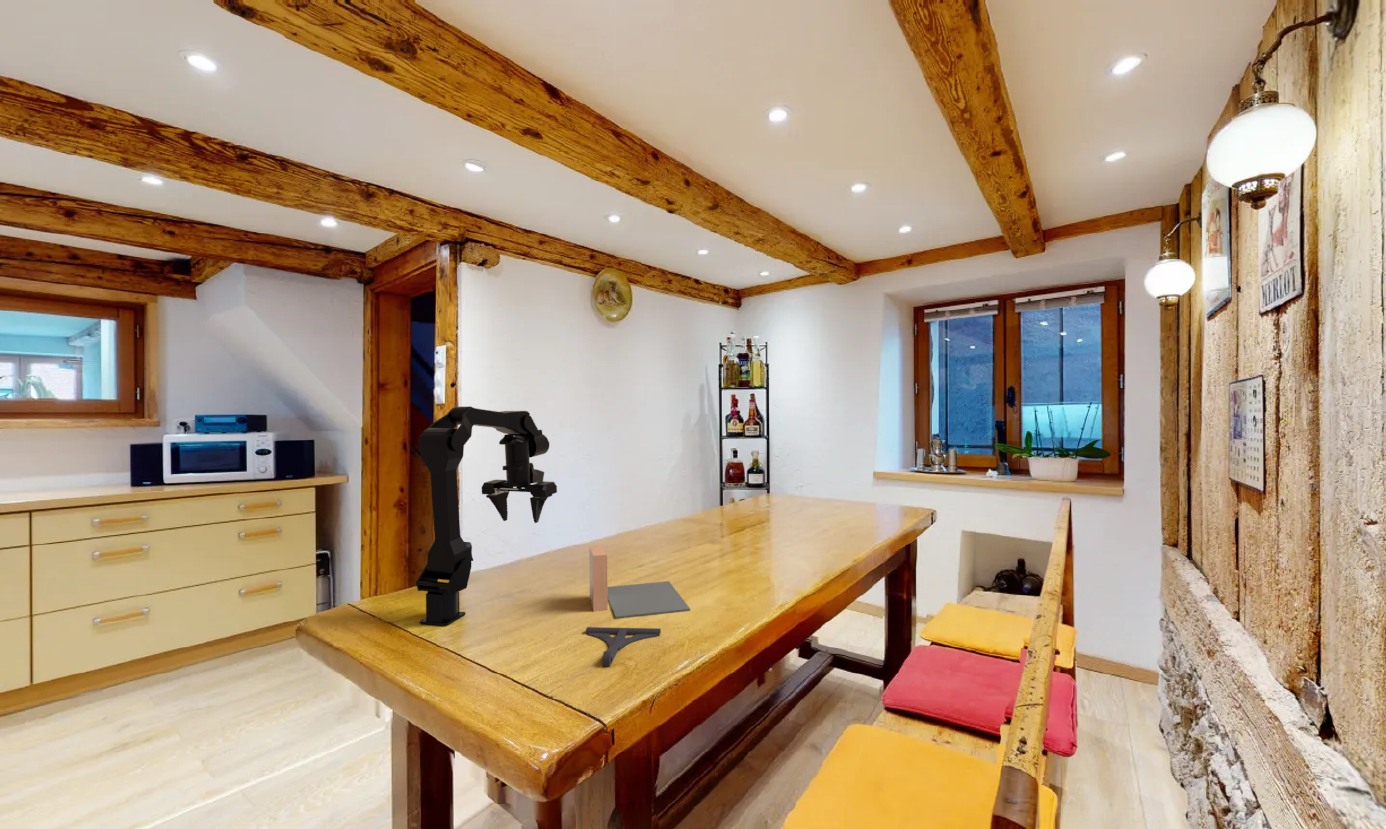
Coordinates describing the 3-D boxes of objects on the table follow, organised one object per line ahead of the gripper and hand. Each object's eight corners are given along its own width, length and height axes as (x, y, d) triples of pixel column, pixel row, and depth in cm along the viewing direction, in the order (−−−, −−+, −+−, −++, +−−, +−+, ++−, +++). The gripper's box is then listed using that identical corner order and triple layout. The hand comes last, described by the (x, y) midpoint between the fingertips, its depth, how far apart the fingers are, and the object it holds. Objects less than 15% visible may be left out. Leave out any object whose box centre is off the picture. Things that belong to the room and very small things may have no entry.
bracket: (564, 669, 94) (564, 653, 94) (587, 634, 109) (587, 620, 109) (648, 673, 93) (648, 656, 93) (660, 636, 107) (660, 622, 107)
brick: (593, 611, 119) (593, 555, 119) (589, 598, 128) (589, 546, 128) (607, 610, 120) (607, 554, 120) (603, 596, 128) (602, 545, 128)
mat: (615, 618, 115) (615, 616, 115) (604, 588, 134) (604, 587, 134) (690, 610, 119) (690, 608, 119) (668, 582, 138) (668, 581, 138)
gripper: (567, 456, 144) (569, 515, 145) (506, 455, 150) (509, 512, 151) (542, 463, 133) (545, 527, 135) (478, 461, 139) (481, 522, 140)
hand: (520, 521), depth 140 cm, fingers open, 9 cm apart
